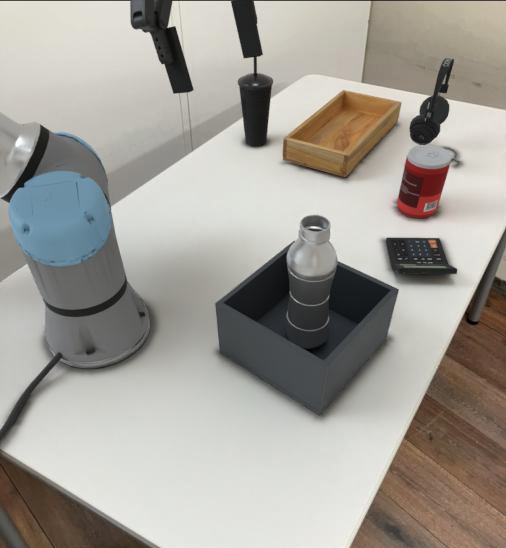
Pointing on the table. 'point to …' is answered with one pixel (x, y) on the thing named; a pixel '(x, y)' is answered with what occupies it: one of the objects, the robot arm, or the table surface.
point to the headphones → (433, 109)
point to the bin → (288, 356)
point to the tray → (341, 132)
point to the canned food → (423, 180)
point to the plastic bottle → (310, 283)
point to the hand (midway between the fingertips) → (220, 73)
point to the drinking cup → (255, 105)
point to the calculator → (418, 256)
